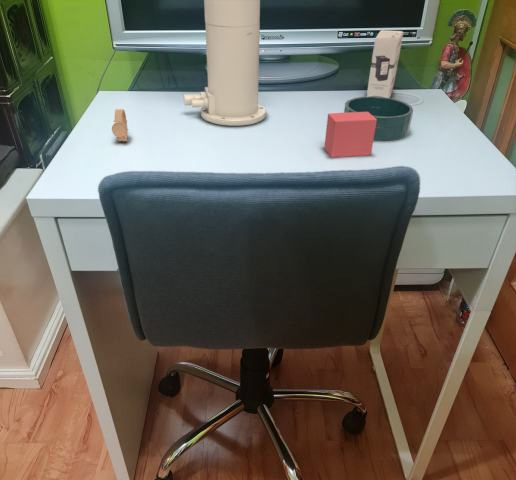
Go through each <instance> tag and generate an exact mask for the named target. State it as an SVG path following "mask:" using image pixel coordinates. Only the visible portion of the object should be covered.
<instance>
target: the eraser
mask: <svg viewBox="0 0 516 480" xmlns="http://www.w3.org/2000/svg"><path fill="white" fill-rule="evenodd" d="M376 121H377V119H376V118H375V117H373V116H372V115H371V114H370V113H369V112H349V113H344V112H331V113H330V112H329V113H327V118H326V128H325V129H326V130H325V138H324V147H323V149H324V150H325V152H326V153H327V154H328V156H329V157H330V158H345V157H362V156H371V155H372V150H373V144H374V140H373V139H374V133H375V127H376Z"/></svg>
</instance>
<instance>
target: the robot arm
mask: <svg viewBox="0 0 516 480" xmlns="http://www.w3.org/2000/svg"><path fill="white" fill-rule="evenodd" d="M203 5H204V7H203V8H204V23H205V46H206V50H205V51H206V72H207V86H205V87H204V91H200V92H199V93H197V94H196V93H195V94H194V93H184V94H183V103H184V106H191V108H200V116H201V118H202V119H203V120H205V121H206V122H208V123H211V124H215V125H220V126H230V127H238V126H239V127H240V126H249V125H254V124H257V123H260V122H262V121H263V120H264V119H266V117H267V109H266V108H265V106H263V105H262V104H260V103H259V85H260V84H259V78H260V77H259V76H260V36H261V35H260V32H261V31H260V30H261V29H260V28H261V21H260V20H261V19H260V17H261V0H203Z"/></svg>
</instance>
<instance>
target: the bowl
mask: <svg viewBox="0 0 516 480" xmlns="http://www.w3.org/2000/svg"><path fill="white" fill-rule="evenodd" d="M343 110H344V111H343V113H349V112H369V113H370V114H371V115H372V116H373V117H375V118H376V119H377V121H376V127H375V133H374V139H373V141H376V142H377V141H378V142H389V141H396V140H400V139H403V138H405V137H407V135H409V130H410V128H411V123H412V118H413V114H414V108H413V106H411V105H410V104H409V103H407V102H405V101H402V100H401V99H396V98H392V97H390V98H385V97H373V96H368V97H367V96H359V97H354V98H350V99H348V100H347V101H346V102H345V103H344V109H343Z"/></svg>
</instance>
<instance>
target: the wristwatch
mask: <svg viewBox="0 0 516 480" xmlns="http://www.w3.org/2000/svg"><path fill="white" fill-rule="evenodd" d="M113 122H114V123H113V124H112V126H111V133H112V134H113V135H114V136H115V137H116V140H118V142H127V141H128V135H129V132H128V131H129V128H128V120H127V115H126V111H125V109H123V108H122V109H118V108H116V109H115V110H114V120H113Z"/></svg>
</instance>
